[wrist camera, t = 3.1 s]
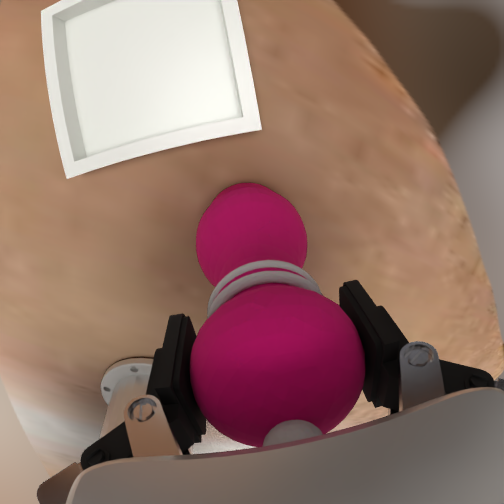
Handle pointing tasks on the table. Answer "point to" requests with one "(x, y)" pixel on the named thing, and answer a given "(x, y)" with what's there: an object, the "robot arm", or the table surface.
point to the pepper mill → (269, 327)
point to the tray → (144, 77)
